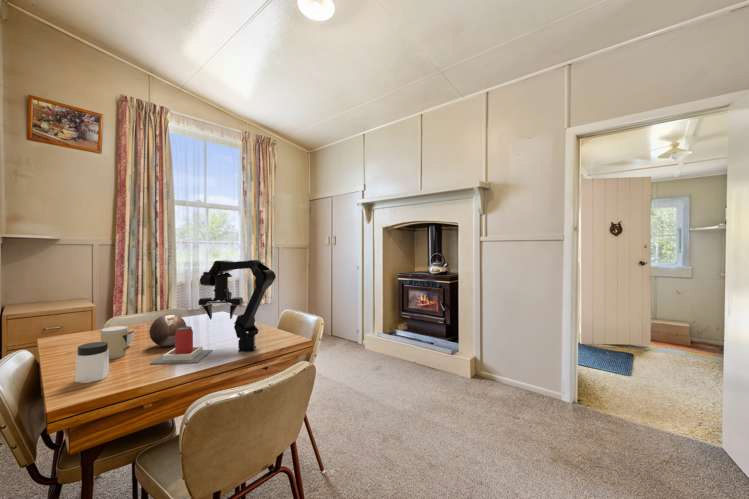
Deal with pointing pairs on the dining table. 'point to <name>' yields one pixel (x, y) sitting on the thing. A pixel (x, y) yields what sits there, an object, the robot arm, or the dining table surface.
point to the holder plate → (182, 357)
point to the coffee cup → (115, 340)
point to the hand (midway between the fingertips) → (220, 319)
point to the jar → (92, 362)
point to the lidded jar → (129, 336)
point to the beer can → (184, 340)
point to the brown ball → (165, 329)
